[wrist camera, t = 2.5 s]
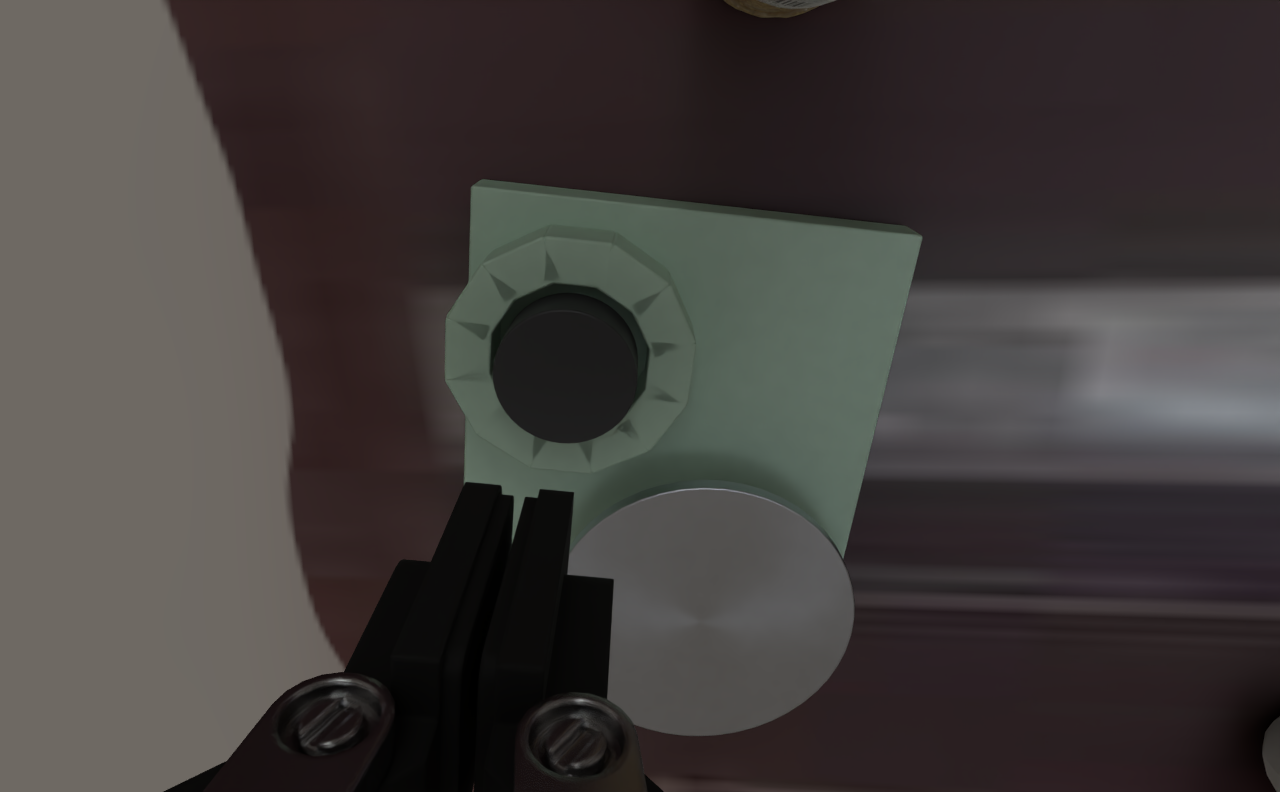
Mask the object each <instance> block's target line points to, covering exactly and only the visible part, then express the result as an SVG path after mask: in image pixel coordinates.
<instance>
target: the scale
mask: <svg viewBox="0 0 1280 792" xmlns="http://www.w3.org/2000/svg"><path fill="white" fill-rule="evenodd" d="M921 242H922V235H920V234H918V233H917V232H915V231H913V230H912V229H910V228H909V227H907V226H902V225H893V224H884V223H875V222H866V221H857V220H848V219H839V218H830V217H821V216H812V215H803V214H794V213H785V212H776V211H767V210H758V209H749V208H740V207H731V206H722V205H712V204H703V203H694V202H685V201H676V200H667V199H658V198H649V197H640V196H631V195H622V194H613V193H604V192H595V191H586V190H577V189H568V188H559V187H550V186H541V185H532V184H523V183H514V182H505V181H496V180H487V179H482V180H480V181H478V182H477V183H476V184H474V185H473V186H472V187H471V205H470V246H469V282H468V284H467V285H466V287H465V288H464V290H463V291H462V293H461V294H460V296H459V298H458V299H457V301H456V302H455V304H454V305H453V307H452V308H451V310H450V311H449V313H448V314H447V318H446V319H445V381H446V383H447V385H448V387H449V389H450V390H451V392H452V394H453V396H454V397H455V399H456V401H457V402H458V404H459V406H460V408H461V409H462V411H463V413H464V415H465V454H464V484H465V482H474V483H484V484H495V485H501V486H502V494H503V495H513V496H514V513H513V532H512V543H513V539H514V535H515V532H516V528H517V524H518V521H519V517H520V514H521V510H522V506H523V503H524V499H525V497H535V498H538V494H539V490H540V489H547V490H557V491H568V492H574V504H573V516H572V528H571V539H570V545H571V543H572V542H573V541H574V539H575V538H576V536H577V535H578V534H579V533H580V532H581V531H582V530H583V529H584V528H585V527H586V526H587V525H588V524H589V523H590V522H591V521H592V520H593V519H595V518H596V517H597V516H598V515H599V514H601V513H602V512H603V511H604V510H606V509H608V508H609V507H611V506H613V505H614V504H616V503H617V502H619V501H621V500H623V499H625V498H627V497H629V496H631V495H634V494H636V493H638V492H640V491H643V490H646V489H650V488H653V487H656V486H659V485H664V484H669V483H674V482H679V481H691V480H723V481H729V482H735V483H742V484H746V485H749V486H753V487H756V488H760V489H763V490H766V491H768V492H770V493H773V494H775V495H778V496H780V497H782V498H784V499H786V500H787V501H789V502H791V503H792V504H794V505H796V506H798V507H799V508H800V509H802V510H803V511H804V512H806V513H807V514H808V515H809V516H811V517H812V518H813V519H814V520H815V521H816V522H817V523H818V524H819V525H820V526H821V527H822V528H823V529H824V530H825V531H826V532H827V534H828V535H829V536H830V538H831V539H832V541H833V542H834V543H835V545H836V546H837V548H838V550H839V552H840V554H841V556H842V558H844V554H845V550H846V546H847V541H848V537H849V533H850V529H851V525H852V521H853V517H854V513H855V509H856V505H857V501H858V497H859V493H860V489H861V485H862V481H863V477H864V473H865V469H866V464H867V460H868V456H869V452H870V448H871V444H872V440H873V436H874V432H875V428H876V424H877V420H878V416H879V412H880V408H881V404H882V400H883V396H884V392H885V387H886V383H887V379H888V375H889V371H890V367H891V363H892V359H893V355H894V351H895V347H896V343H897V339H898V335H899V331H900V327H901V323H902V319H903V315H904V310H905V306H906V302H907V298H908V294H909V290H910V286H911V282H912V278H913V274H914V270H915V266H916V262H917V258H918V254H919V250H920V246H921ZM558 293H577V294H583V295H587V296H590V297H593V298H596V299H598V300H600V301H602V302H604V303H605V304H607V305H609V306H610V307H611V308H613V309H614V310H615V311H616V312H617V313H618V314H619V315H620V316H621V317H622V318H623V319H624V321H625V322H626V323H627V325H628V326H629V328H630V330H631V332H632V334H633V336H634V339H635V342H636V346H637V353H638V378H637V389H636V394H635V397H634V400H633V403H632V405H631V407H630V409H629V411H628V412H627V414H626V415H625V417H624V418H623V419H622V420H621V421H620V422H619V423H618V424H617V425H616V426H615V427H614V428H613V429H611V430H610V431H608V432H607V433H605V434H604V435H601V436H599V437H597V438H595V439H592V440H589V441H585V442H580V443H570V444H568V443H556V442H550V441H547V440H543V439H540V438H538V437H535V436H533V435H531V434H530V433H528V432H526V431H525V430H523V429H522V428H521V427H519V426H518V425H517V424H516V423H515V422H514V421H513V420H512V419H511V418H510V417H509V416H508V415H507V413H506V412H505V411H504V409H503V407H502V406H501V404H500V402H499V400H498V398H497V395H496V392H495V389H494V383H493V363H494V359H495V355H496V352H497V350H498V347H499V345H500V343H501V341H502V339H503V337H504V335H505V333H506V331H507V329H508V328H509V326H510V324H511V323H512V321H513V319H514V318H515V317H516V316H517V315H518V313H519V312H520V311H522V310H523V309H524V308H525V307H526V306H528V305H529V304H531V303H532V302H534V301H536V300H538V299H540V298H543V297H545V296H548V295H553V294H558Z"/></svg>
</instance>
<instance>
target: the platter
mask: <svg viewBox="0 0 1280 792" xmlns="http://www.w3.org/2000/svg"><path fill="white" fill-rule="evenodd" d="M567 575H578V576H589V577H600V578H610V579H614V589H613V606H612V624H611V641H610V659H609V676H608V694H607V699H608V700H609V701H611V702H612V703H614V704H615V705H617V706H618V707H620V708H621V709H622V710H623V711H624V712H625V713H626V714H627V716H628V717H629V718H630V719H631V720H632V722H633V724H634V725H637V726H640V727H643V728H645V729H649V730H653V731H657V732H662V733H667V734H674V735H682V736H712V735H722V734H728V733H735V732H739V731H743V730H747V729H751V728H754V727H757V726H760V725H762V724H765V723H768V722H770V721H773V720H775V719H777V718H779V717H781V716H783V715H785V714H787V713H788V712H790V711H792V710H793V709H795V708H796V707H798V706H799V705H801V704H802V703H804V702H805V701H806V700H807V699H808V698H810V697H811V696H812V695H813V694H814V693H816V692H817V691H818V690H819V689H820V687H821V686H822V685H823V684H824V683H825V682H826V681H827V680H828V679H829V677H830V676H831V675H832V673H833V672H834V670H835V669H836V668H837V666H838V665H839V663H840V661H841V659H842V657H843V655H844V653H845V651H846V649H847V646H848V643H849V640H850V637H851V634H852V629H853V623H854V612H855V600H854V593H853V586H852V583H851V580H850V576H849V573H848V570H847V567H846V565H845V562H844V560H843V558H842V556H841V554H840V552H839V550H838V548H837V546H836V545H835V543H834V542H833V541H832V539H831V538H830V536H829V535H828V534H827V532H826V531H825V530H824V529H823V528H822V527H821V526H820V525H819V524H818V523H817V522H816V521H815V520H814V519H813V518H812V517H811V516H809V515H808V514H807V513H806V512H804V511H803V510H802V509H800V508H799V507H798V506H796V505H794V504H792V503H791V502H789V501H787V500H786V499H784V498H782V497H780V496H778V495H775V494H773V493H770V492H768V491H766V490H763V489H760V488H756V487H753V486H749V485H746V484H742V483H735V482H729V481H723V480H691V481H679V482H674V483H669V484H664V485H659V486H656V487H653V488H650V489H646V490H643V491H640V492H638V493H636V494H634V495H631V496H629V497H627V498H625V499H623V500H621V501H619V502H617V503H616V504H614V505H613V506H611V507H609V508H608V509H606V510H604V511H603V512H602V513H601V514H599V515H598V516H597V517H596V518H595V519H593V520H592V521H591V522H590V523H589V524H588V525H587V526H586V527H585V528H584V529H583V530H582V531H581V532H580V533H579V534H578V535H577V536H576V538H575V539H574V541H573V542H572V543H571V545H570V551H569V562H568V574H567Z"/></svg>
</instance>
